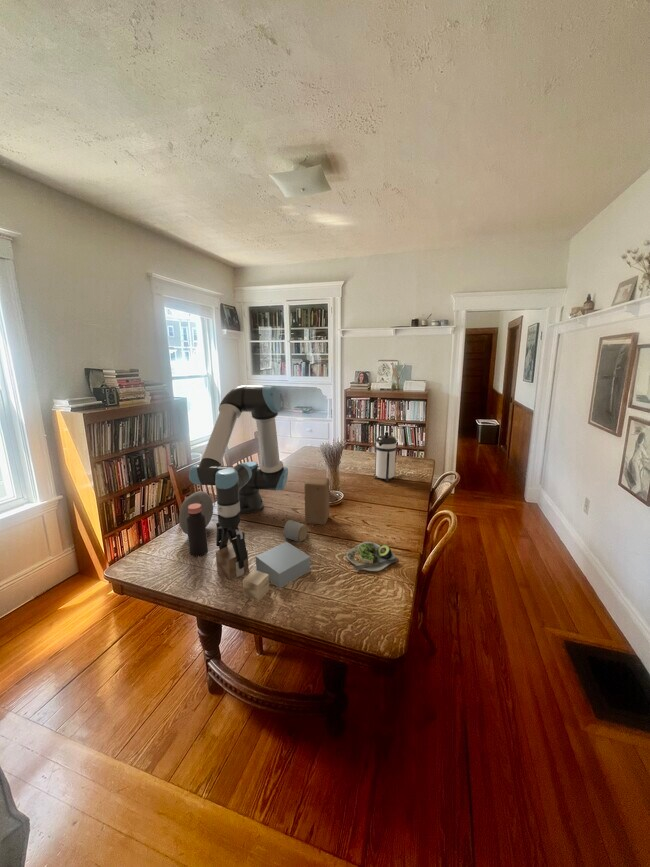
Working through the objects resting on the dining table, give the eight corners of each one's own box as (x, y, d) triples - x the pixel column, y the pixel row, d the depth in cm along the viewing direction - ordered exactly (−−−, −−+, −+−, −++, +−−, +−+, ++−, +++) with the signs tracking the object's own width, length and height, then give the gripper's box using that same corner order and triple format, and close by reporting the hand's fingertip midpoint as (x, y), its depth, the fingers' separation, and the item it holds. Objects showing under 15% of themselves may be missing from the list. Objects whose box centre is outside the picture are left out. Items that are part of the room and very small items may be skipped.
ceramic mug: (299, 545, 140) (299, 528, 139) (282, 540, 144) (282, 524, 142) (311, 534, 150) (311, 517, 148) (295, 529, 153) (295, 514, 152)
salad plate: (371, 583, 118) (371, 572, 117) (335, 561, 131) (335, 550, 130) (403, 561, 131) (404, 550, 130) (367, 542, 144) (368, 532, 142)
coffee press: (400, 482, 208) (403, 435, 201) (374, 482, 208) (376, 434, 201) (395, 472, 225) (397, 428, 218) (370, 472, 225) (372, 428, 218)
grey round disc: (207, 521, 160) (204, 484, 155) (219, 524, 157) (216, 486, 153) (176, 541, 143) (171, 499, 139) (188, 544, 141) (184, 503, 136)
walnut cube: (217, 571, 124) (215, 551, 122) (235, 561, 130) (234, 542, 128) (230, 580, 119) (228, 560, 117) (248, 569, 125) (247, 550, 123)
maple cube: (243, 595, 112) (242, 579, 110) (254, 584, 117) (253, 569, 116) (258, 601, 109) (257, 585, 108) (269, 589, 114) (268, 574, 113)
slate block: (256, 570, 125) (255, 556, 123) (286, 555, 134) (286, 541, 133) (279, 589, 115) (279, 573, 114) (310, 571, 125) (310, 556, 123)
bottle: (211, 548, 138) (207, 503, 133) (201, 558, 132) (197, 510, 127) (196, 546, 139) (191, 501, 135) (186, 555, 133) (181, 508, 128)
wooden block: (325, 525, 156) (325, 485, 152) (304, 523, 158) (304, 483, 154) (329, 515, 166) (329, 477, 161) (309, 513, 168) (309, 475, 163)
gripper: (202, 507, 123) (207, 563, 128) (238, 526, 110) (241, 587, 115) (221, 501, 129) (224, 554, 134) (256, 518, 115) (259, 577, 120)
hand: (232, 569), depth 124 cm, fingers open, 8 cm apart
